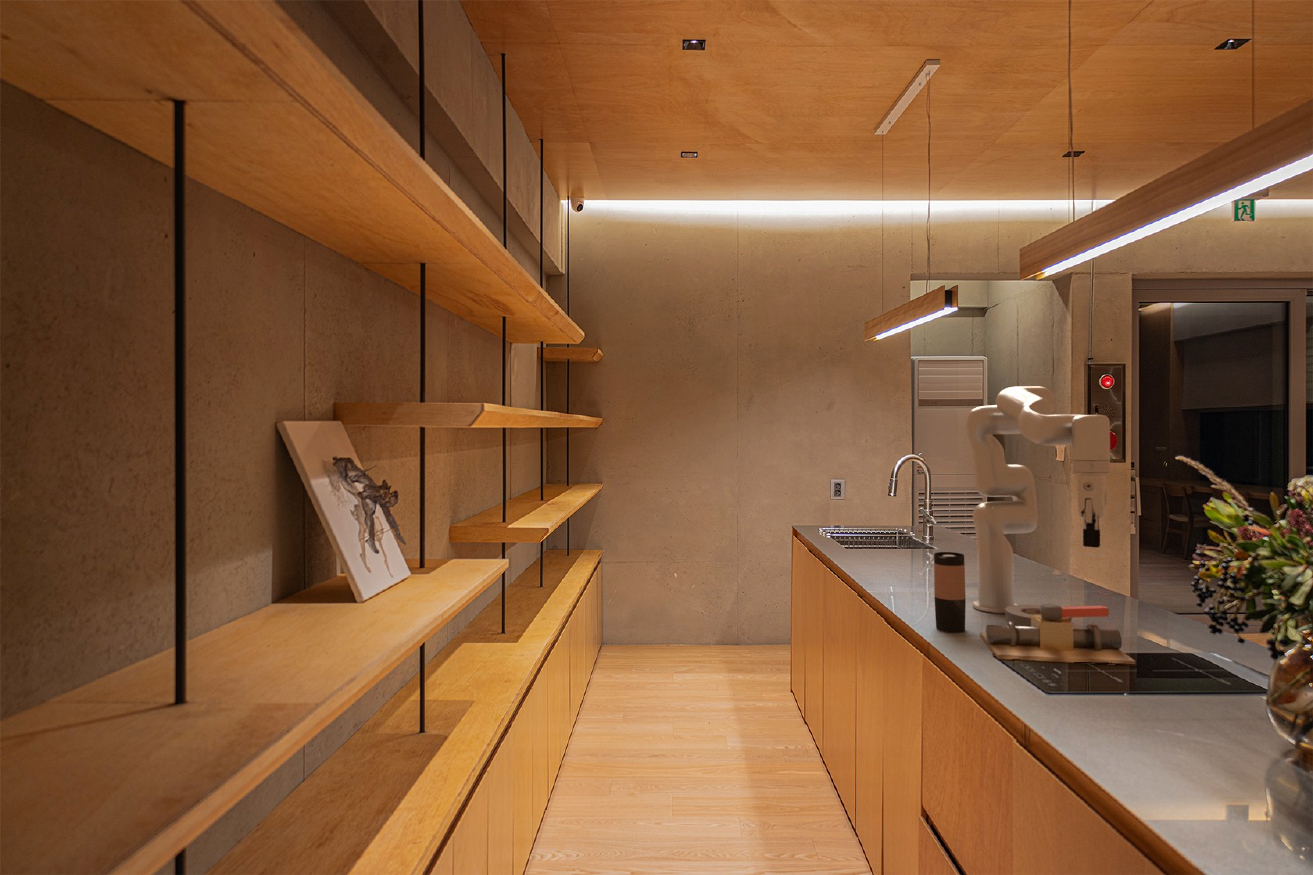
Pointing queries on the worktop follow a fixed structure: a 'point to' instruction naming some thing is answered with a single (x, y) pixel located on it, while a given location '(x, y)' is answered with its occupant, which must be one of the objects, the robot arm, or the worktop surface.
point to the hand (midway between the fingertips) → (1091, 546)
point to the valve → (1053, 635)
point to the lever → (1072, 611)
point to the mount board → (1057, 653)
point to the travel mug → (949, 591)
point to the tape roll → (1023, 614)
